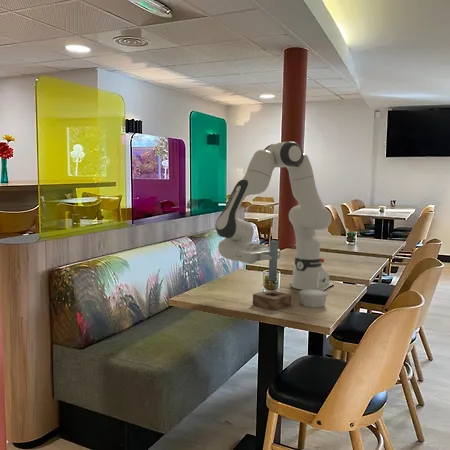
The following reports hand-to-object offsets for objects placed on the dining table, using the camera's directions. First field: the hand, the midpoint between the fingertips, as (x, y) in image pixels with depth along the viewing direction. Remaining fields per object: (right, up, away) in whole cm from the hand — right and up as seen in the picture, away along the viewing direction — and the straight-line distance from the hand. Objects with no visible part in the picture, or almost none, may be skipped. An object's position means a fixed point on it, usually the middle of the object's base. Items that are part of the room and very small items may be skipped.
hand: (275, 257), depth 184 cm
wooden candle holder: (-1, -20, +3) cm, 20 cm away
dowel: (-1, -9, +2) cm, 10 cm away
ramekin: (+16, -20, +5) cm, 26 cm away
